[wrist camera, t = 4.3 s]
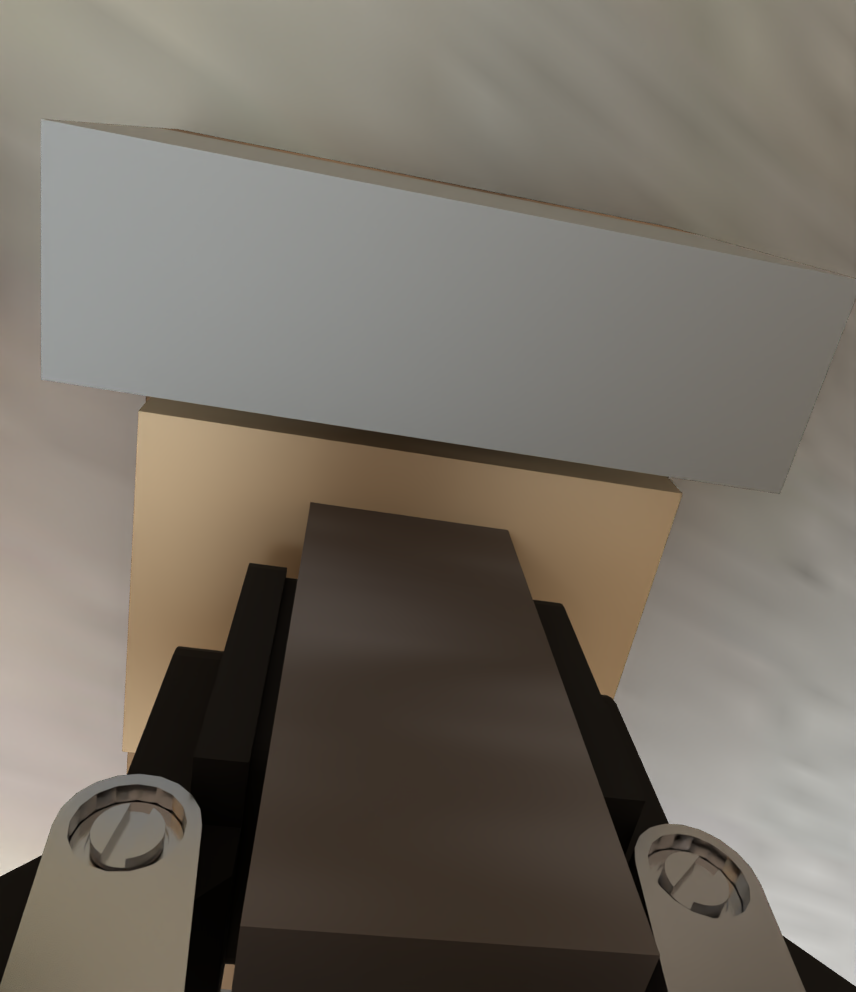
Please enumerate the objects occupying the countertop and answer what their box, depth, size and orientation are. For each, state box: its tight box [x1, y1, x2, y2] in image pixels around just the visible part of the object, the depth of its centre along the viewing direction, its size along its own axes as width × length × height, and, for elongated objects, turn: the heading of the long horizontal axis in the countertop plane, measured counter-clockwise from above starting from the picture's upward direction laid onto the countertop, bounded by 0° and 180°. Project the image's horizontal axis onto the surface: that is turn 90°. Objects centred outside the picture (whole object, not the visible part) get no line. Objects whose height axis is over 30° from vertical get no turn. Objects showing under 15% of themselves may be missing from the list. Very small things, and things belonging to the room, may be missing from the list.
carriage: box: [122, 397, 682, 992], centre depth 11 cm, size 8×6×10 cm
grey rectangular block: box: [41, 119, 856, 494], centre depth 13 cm, size 11×3×7 cm, turn 79°
